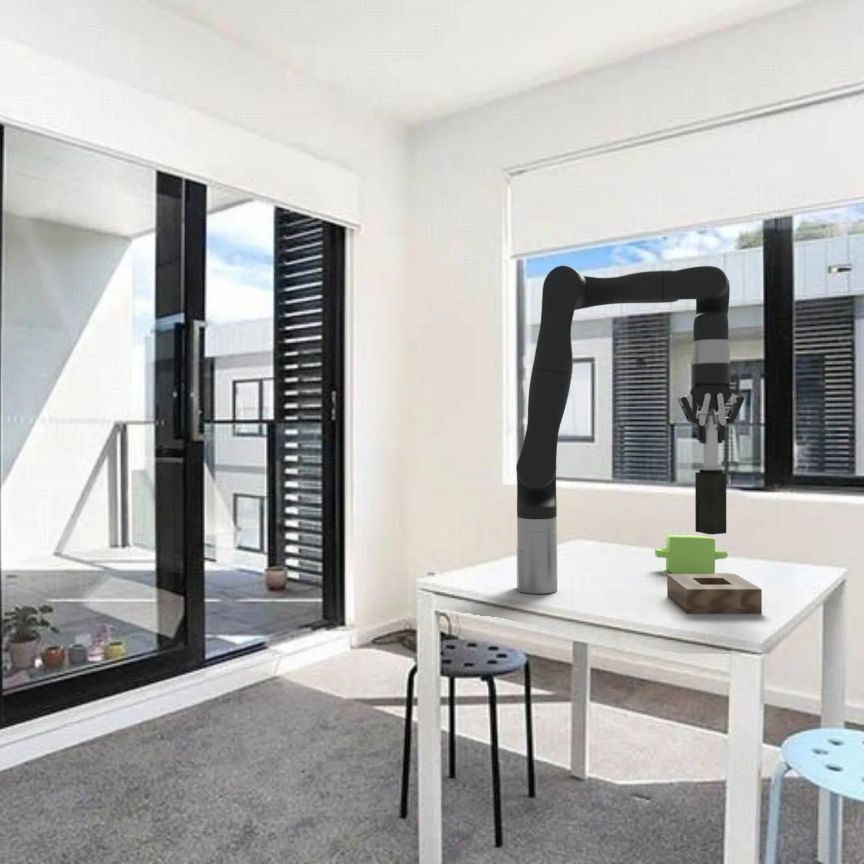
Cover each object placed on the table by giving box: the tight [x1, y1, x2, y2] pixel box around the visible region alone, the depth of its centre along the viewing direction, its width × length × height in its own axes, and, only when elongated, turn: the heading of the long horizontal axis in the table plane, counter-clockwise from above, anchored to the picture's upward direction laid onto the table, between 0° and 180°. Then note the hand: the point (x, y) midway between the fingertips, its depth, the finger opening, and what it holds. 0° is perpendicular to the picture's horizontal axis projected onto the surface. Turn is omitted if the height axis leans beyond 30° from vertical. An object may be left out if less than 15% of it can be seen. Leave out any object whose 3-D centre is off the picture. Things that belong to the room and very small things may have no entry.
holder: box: [666, 573, 763, 615], centre depth 159 cm, size 15×15×5 cm
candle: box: [694, 415, 727, 535], centre depth 158 cm, size 5×5×25 cm
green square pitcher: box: [654, 534, 729, 574], centre depth 193 cm, size 18×10×10 cm, turn 83°
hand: (710, 442), depth 158 cm, fingers closed on candle, 3 cm apart
